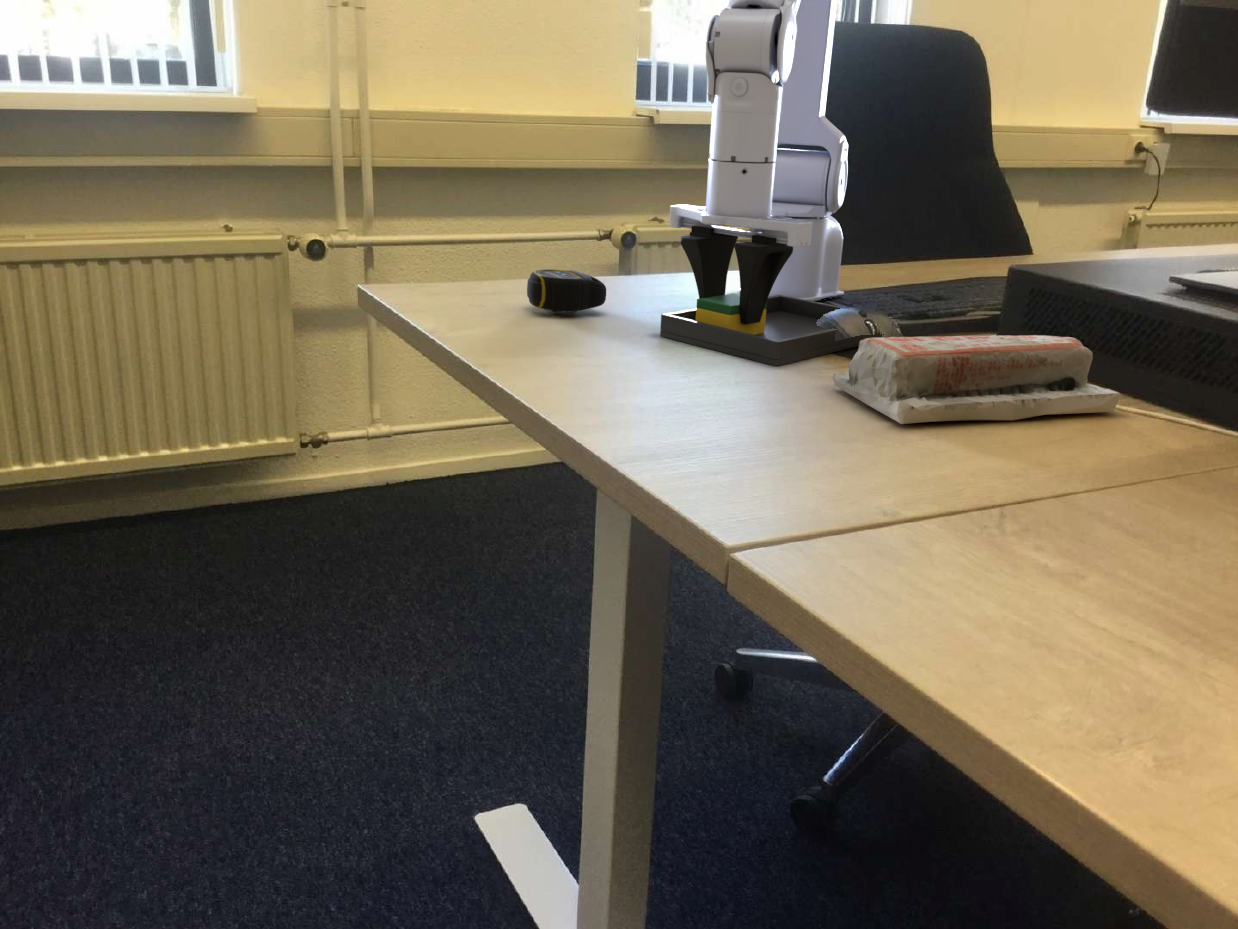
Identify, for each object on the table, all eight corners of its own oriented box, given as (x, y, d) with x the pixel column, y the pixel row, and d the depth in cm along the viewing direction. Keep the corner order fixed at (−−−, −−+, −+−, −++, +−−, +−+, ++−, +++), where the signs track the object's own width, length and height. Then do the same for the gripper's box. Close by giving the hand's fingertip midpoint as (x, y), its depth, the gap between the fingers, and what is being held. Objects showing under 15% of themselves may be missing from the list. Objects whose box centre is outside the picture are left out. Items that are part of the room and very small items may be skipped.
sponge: (730, 325, 97) (733, 293, 96) (764, 333, 94) (767, 300, 93) (694, 331, 94) (696, 298, 93) (728, 340, 91) (731, 306, 90)
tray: (777, 314, 105) (779, 294, 104) (891, 338, 96) (893, 317, 96) (659, 335, 94) (660, 314, 93) (775, 366, 85) (778, 342, 84)
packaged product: (909, 358, 68) (836, 326, 77) (900, 428, 70) (830, 389, 79) (1132, 349, 73) (1040, 319, 82) (1119, 415, 75) (1030, 379, 84)
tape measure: (608, 315, 101) (610, 277, 100) (544, 320, 98) (545, 280, 97) (577, 302, 107) (578, 266, 106) (516, 306, 104) (516, 268, 103)
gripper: (648, 155, 91) (641, 309, 96) (780, 168, 81) (765, 338, 86) (702, 154, 96) (693, 301, 100) (833, 166, 86) (816, 328, 91)
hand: (730, 318), depth 93 cm, fingers closed on sponge, 4 cm apart
